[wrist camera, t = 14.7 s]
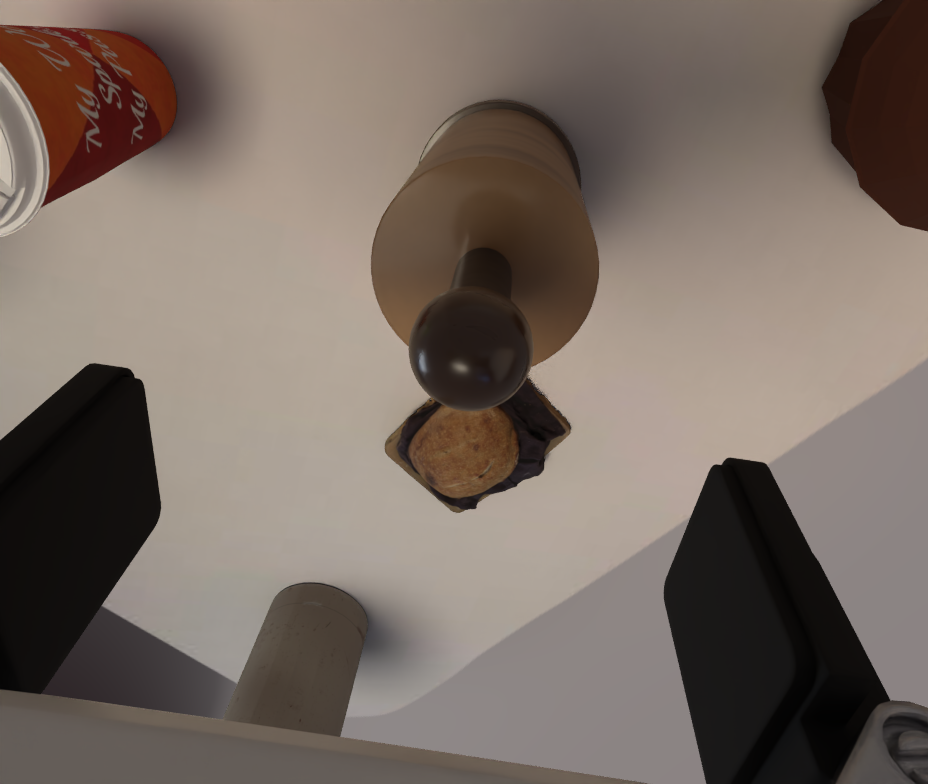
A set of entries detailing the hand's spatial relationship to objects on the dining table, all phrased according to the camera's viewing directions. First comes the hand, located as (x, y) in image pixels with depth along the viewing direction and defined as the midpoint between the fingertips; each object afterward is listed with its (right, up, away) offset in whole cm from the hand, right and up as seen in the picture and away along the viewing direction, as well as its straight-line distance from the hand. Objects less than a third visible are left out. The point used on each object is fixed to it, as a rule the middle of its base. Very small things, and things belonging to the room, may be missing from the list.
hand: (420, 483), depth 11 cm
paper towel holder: (+3, +12, +25) cm, 28 cm away
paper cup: (-17, +17, +24) cm, 34 cm away
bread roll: (+1, -1, +33) cm, 33 cm away
